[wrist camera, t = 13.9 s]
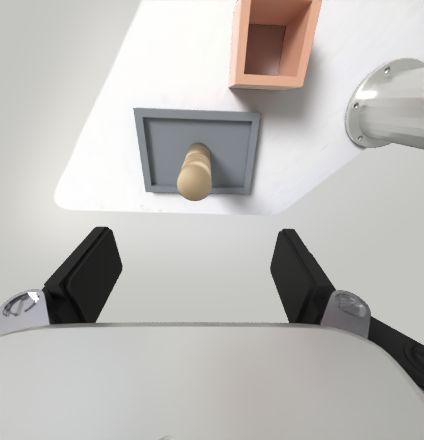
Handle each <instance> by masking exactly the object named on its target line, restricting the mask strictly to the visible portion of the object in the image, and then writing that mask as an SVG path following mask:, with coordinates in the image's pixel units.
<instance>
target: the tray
mask: <svg viewBox="0 0 424 440" xmlns="http://www.w3.org/2000/svg"><path fill="white" fill-rule="evenodd" d="M133 109H134V115H135V122H136V129H137V136H138V143H139V149H140V156H141V163H142V170H143V176H144V183H145V190H146V192H171V193H180V192H179V191H178V188H177V180H178V177H179V174H180V172H181V169H182V166H183V163H184V160H185V158H186V155H187V152H188V149H189V147H190V146H191V145H192V144H194V143H203V144H205V145H206V146H207V147H208V149H209V151H210V165H211V182H212V187H211V191H210V193H216V194H249V192H250V185H251V178H252V171H253V164H254V157H255V150H256V143H257V136H258V129H259V122H260V115H261V113H258V112H232V111H207V110H181V109H156V108H133Z"/></svg>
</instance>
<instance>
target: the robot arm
mask: <svg viewBox="0 0 424 440" xmlns="http://www.w3.org/2000/svg"><path fill="white" fill-rule="evenodd" d="M345 124H346V130H347V133H348V135H349V137H350V138H351V139H352V141H354V142H355V143H356V144H358V145H361V146H364V147H369V148H376V147H381V146H385V145H388V144H390V143H397V144H401V145H406V146H410V147H416V148H420V149H424V63H423V62H421V61H420V60H418V59H413V58H402V59H397V60H393V61H390V62H388V63H385V64H383V65H382V66H380V67H378V68H377V69H375V70H374V71H373V72H372V73H370V74H369V75H368V76H367V77H366V78H365V79H364V80H363V81H362V82H361V84H360V85H359V86H358V88H357V89H356V91H355V92H354V94H353V96H352V98H351V100H350V102H349V105H348V108H347V112H346V121H345ZM270 269H271V274H272V277H273V279H274V282H275V285H276V288H277V290H278V293H279V295H280V299H281V301H282V304H283V307H284V310H285V312H286V315H287V317H288V321H289V323H219V322H217V323H215V322H214V323H213V322H211V323H208V322H207V323H206V322H205V323H204V322H202V323H201V322H200V323H197V322H194V323H188V322H187V323H186V322H182V323H181V322H178V323H176V322H175V323H95V322H96V320H97V318H98V317H99V315H100V312H101V311H102V308H103V307H104V305H105V303H106V301H107V299H108V297H109V295H110V293H111V291H112V289H113V287H114V285H115V283H116V281H117V279H118V277H119V275H120V273H121V271H122V263H121V259H120V256H119V252H118V249H117V246H116V242H115V238H114V235H113V232H112V230H111V229H109V228H108V227H95V228H94V229H93V230H92V231H91V233H90V234H89V235H88V236H87V237H86V238H85V239H84V240H83V242H82V243H81V244H80V245H79V246H78V247H77V248H76V249H75V250H74V251H73V253H72V254H71V255H70V256H69V257H68V258H67V259H66V260H65V262H64V263H63V264H62V265H61V266H60V267H59V268H58V269H57V270H56V271H55V273H54V274H53V275H52V276H51V277H50V278H49V279H48V280H47V282H46V283H45V284H44V285H45V287H44V288H43V289H42V290H38V289H32V290H27V291H24V292H21V293H19V294H17V295H15V296H13V297H12V298H10V299H9V300H7V301H6V302H5V303H4V304H3V305H2V306H1V307H0V440H424V345H422V344H420V343H418V342H417V341H415V340H413V339H411V338H409V337H408V336H406V335H404V334H402V333H400V332H398V331H397V330H395V329H393V328H391V327H390V326H388V325H386V324H384V323H382V322H381V321H379V320H377V319H375V318H373V317H372V316H371V312H370V309H369V307H368V305H367V304H366V303H365V302H364V301H363V300H362V299H361V298H360V297H358V296H356V295H355V294H353V293H350V292H348V291H343V290H337V291H336V289H335V288H334V286H333V285H332V283H331V282H330V280H329V279H328V277H327V276H326V274H325V273H324V272H323V270H322V268H321V267H320V266H319V264H318V263H317V261H316V260H315V258H314V257H313V255H312V254H311V253H310V252H309V251H308V249H307V248H306V246H305V245H304V243H303V242H302V240H301V239H300V237H299V236H298V234H297V233H296V231H295V230H294V229H283V230H282V231H280V232H279V233H278V237H277V241H276V246H275V250H274V254H273V258H272V262H271V267H270Z"/></svg>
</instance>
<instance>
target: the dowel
mask: <svg viewBox="0 0 424 440" xmlns="http://www.w3.org/2000/svg"><path fill="white" fill-rule="evenodd" d="M211 187H212V182H211V165H210V151H209V149H208V147H207V146H206V145H205V144H203V143H194V144H192V145H191V146H190V147H189V149H188V152H187V155H186V158H185V160H184V163H183V166H182V169H181V172H180V174H179V177H178V180H177V188H178V191H179V192H180V194H181V195H182V196H183V197H184V198H186V199H188V200H191V201H199V200H202V199H204V198H205V197H207V196H208V194H209V193H210V191H211Z"/></svg>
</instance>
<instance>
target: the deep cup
mask: <svg viewBox="0 0 424 440" xmlns="http://www.w3.org/2000/svg"><path fill="white" fill-rule="evenodd" d="M321 3H322V0H237V2H236V6H235V9H234V12H233V26H232V41H231V56H230V72H229V87H228V88H245V89H267V90H286V89H292V88H299V87H303V83H304V79H305V74H306V70H307V65H308V61H309V56H310V52H311V47H312V43H313V39H314V34H315V30H316V25H317V21H318V16H319V12H320V7H321ZM249 24H266V25H283V26H286V29H285V35H284V41H283V47H282V53H281V59H280V65H279V71H278V76H272V75H251V74H244V68H245V57H246V47H247V36H248V26H249Z"/></svg>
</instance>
